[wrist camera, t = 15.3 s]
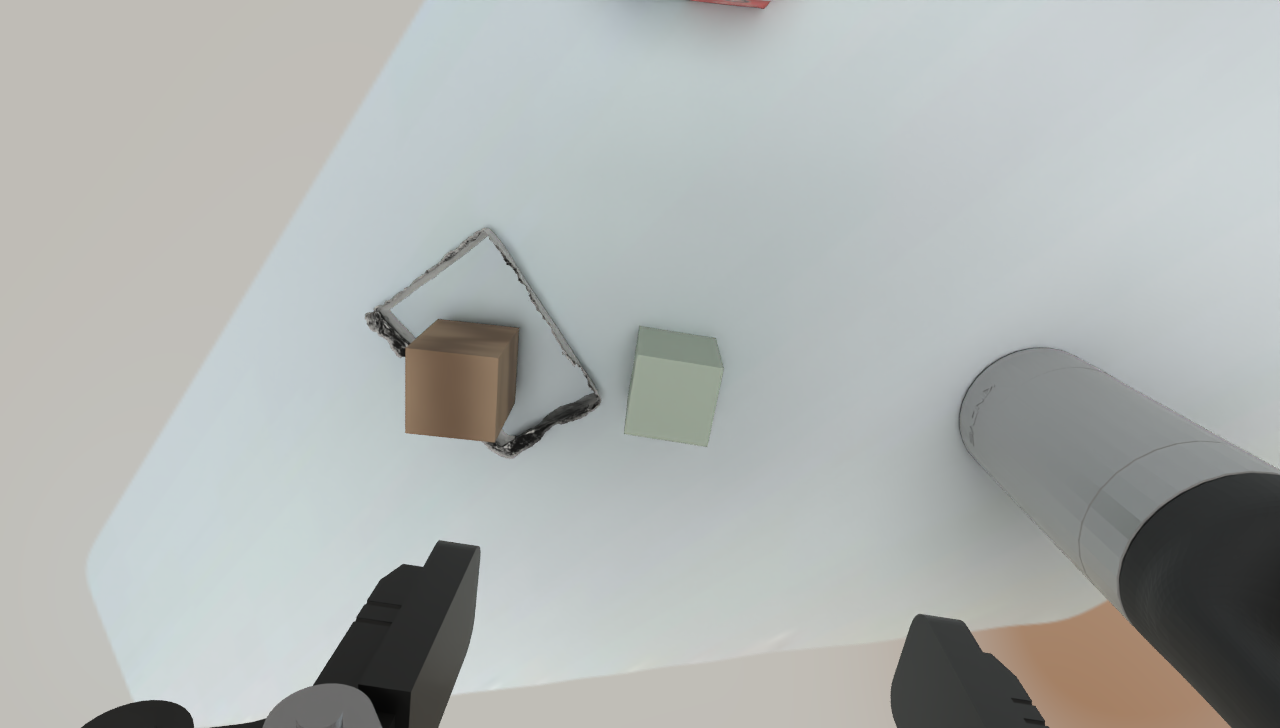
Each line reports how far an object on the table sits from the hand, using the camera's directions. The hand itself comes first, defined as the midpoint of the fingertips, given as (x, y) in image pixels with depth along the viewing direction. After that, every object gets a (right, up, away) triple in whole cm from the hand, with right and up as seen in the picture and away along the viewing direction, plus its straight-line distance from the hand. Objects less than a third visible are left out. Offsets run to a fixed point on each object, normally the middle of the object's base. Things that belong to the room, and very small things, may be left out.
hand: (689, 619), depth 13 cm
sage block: (+1, +4, +34) cm, 34 cm away
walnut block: (-11, +5, +31) cm, 34 cm away
